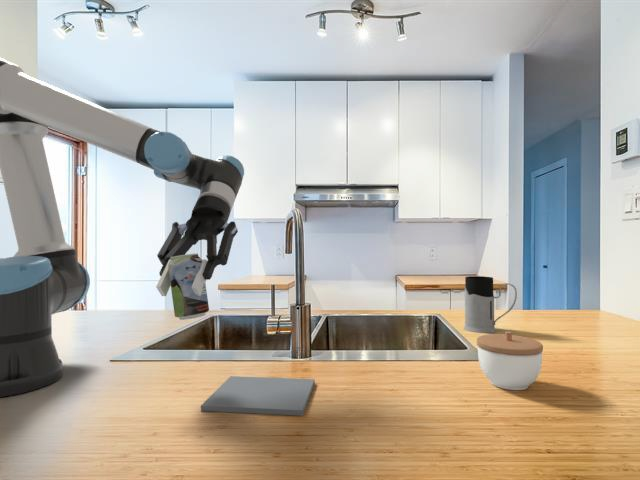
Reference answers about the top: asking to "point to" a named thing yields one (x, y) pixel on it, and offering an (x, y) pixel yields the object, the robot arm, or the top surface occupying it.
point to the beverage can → (186, 287)
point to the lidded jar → (510, 360)
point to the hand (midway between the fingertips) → (178, 291)
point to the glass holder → (481, 304)
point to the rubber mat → (261, 396)
